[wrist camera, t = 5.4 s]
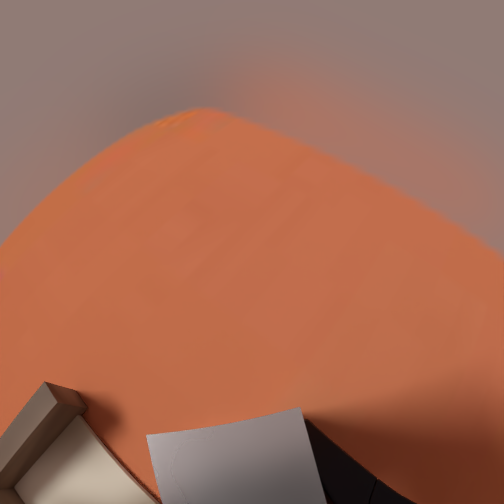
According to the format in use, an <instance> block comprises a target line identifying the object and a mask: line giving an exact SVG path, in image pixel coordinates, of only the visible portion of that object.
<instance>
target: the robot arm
mask: <svg viewBox="0 0 504 504" xmlns="http://www.w3.org/2000/svg"><path fill="white" fill-rule="evenodd" d="M304 423H305V426H306V430H307V433H308V437H309V441H310V444H311V448H312V452H313V455H314V459H315V462H316V466H317V470H318V473H319V477H320V481H321V484H322V488H323V492H324V495H325V499H326V503H327V504H417V503H415V502H413V501H411V500H409V499H407V498H406V497H404V496H402V495H400V494H399V493H397V492H396V491H394V490H393V489H392V488H390V487H389V486H387V485H386V484H385V483H383V482H382V481H381V480H379V479H377V477H375V476H374V475H373V474H372V473H370V472H369V471H368V470H367V469H365V468H364V467H363V466H362V465H360V464H359V463H358V462H357V461H356V460H354V459H353V458H352V457H351V456H350V455H348V454H347V453H346V452H345V451H344V450H342V449H341V448H340V447H339V446H338V445H337V444H335V443H334V442H333V441H332V440H331V439H330V438H328V437H327V436H326V435H325V434H324V433H323V432H322V431H320V430H319V429H318V428H317V427H316V426H315V425H314V424H313V423H311V422H310V421H309V420H308V419H304Z"/></svg>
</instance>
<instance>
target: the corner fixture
mask: <svg viewBox="0 0 504 504" xmlns="http://www.w3.org/2000/svg"><path fill="white" fill-rule="evenodd" d="M87 409H88V407H87V406H86V405H85V403H84V402H83V401H82V399H81V398H80V397H79V395H78V394H77V392H76V391H75V390H73V389H69V388H65V387H61V386H58V385H54V384H51V383H48V382H44V383H43V384H42V385H41V386H40V388H39V389H38V390H37V391H36V392H35V394H34V395H33V396H32V397H31V399H30V400H29V401H28V402H27V404H26V405H25V406H24V408H23V409H22V410H21V411H20V413H19V414H18V415H17V417H16V418H15V419H14V420H13V422H12V423H11V424H10V426H9V427H8V428H7V430H6V431H5V432H4V434H3V435H2V436H1V438H0V504H160V503H159V502H158V501H157V500H156V499H155V498H154V497H153V496H152V495H150V494H149V493H148V492H147V491H146V490H145V489H144V488H143V487H142V486H141V485H140V484H139V483H138V482H137V481H136V480H135V479H134V478H133V477H132V475H131V474H130V473H129V472H128V471H127V470H126V469H125V468H124V467H123V466H122V465H121V464H120V463H119V461H118V460H117V459H116V458H115V457H114V456H113V455H112V453H111V452H110V451H109V450H108V449H107V448H106V446H105V445H104V444H103V443H102V442H101V440H100V439H99V438H98V437H97V435H96V434H95V433H94V432H93V430H92V429H91V428H90V426H89V425H88V424H87V423H86V421H85V420H84V419H83V417H82V416H81V415H82V414H83V413H84V412H85V411H86V410H87Z"/></svg>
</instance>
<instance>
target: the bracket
mask: <svg viewBox="0 0 504 504" xmlns="http://www.w3.org/2000/svg"><path fill="white" fill-rule="evenodd" d="M146 437H147V442H148V446H149V451H150V456H151V460H152V465H153V469H154V473H155V477H156V481H157V485H158V489H159V493H160V496H161V500H162V504H327V503H326V499H325V495H324V492H323V488H322V484H321V481H320V477H319V473H318V470H317V466H316V462H315V459H314V455H313V452H312V448H311V444H310V441H309V437H308V433H307V430H306V426H305V423H304V419H303V415H302V412H301V408H300V407H298V408H294V409H290V410H286V411H283V412H279V413H275V414H271V415H266V416H262V417H258V418H253V419H249V420H244V421H239V422H234V423H229V424H224V425H218V426H212V427H206V428H200V429H193V430H186V431H179V432H170V433H161V434H151V435H146Z"/></svg>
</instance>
